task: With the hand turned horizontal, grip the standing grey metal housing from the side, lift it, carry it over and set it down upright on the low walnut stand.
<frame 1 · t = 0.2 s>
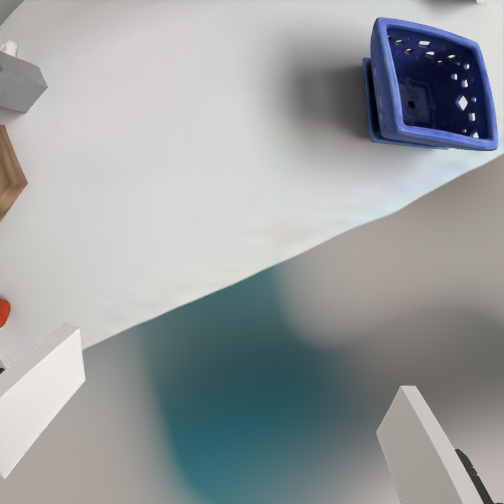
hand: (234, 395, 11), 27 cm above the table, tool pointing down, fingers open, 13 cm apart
fruit: (8, 306, 43), on the table
flower pot: (402, 107, 33), on the table
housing: (31, 89, 35), on the table
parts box: (6, 67, 35), on the table
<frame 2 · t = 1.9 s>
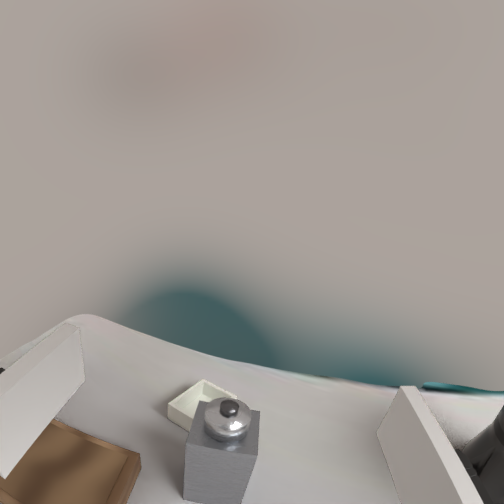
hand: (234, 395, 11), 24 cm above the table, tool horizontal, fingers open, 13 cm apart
stand: (64, 486, 20), on the table
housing: (214, 485, 27), on the table
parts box: (201, 415, 38), on the table
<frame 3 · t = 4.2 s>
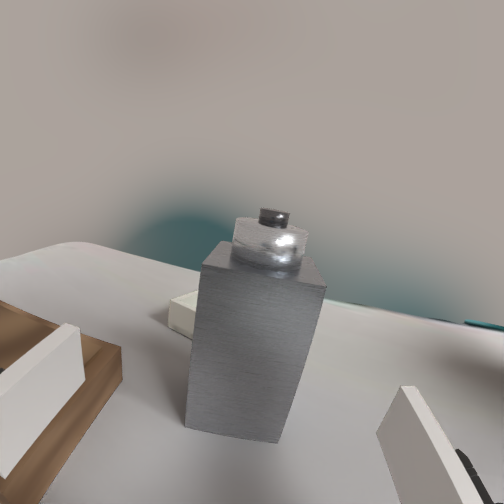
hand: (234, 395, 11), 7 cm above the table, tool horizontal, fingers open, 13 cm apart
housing: (235, 407, 20), on the table
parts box: (214, 326, 32), on the table
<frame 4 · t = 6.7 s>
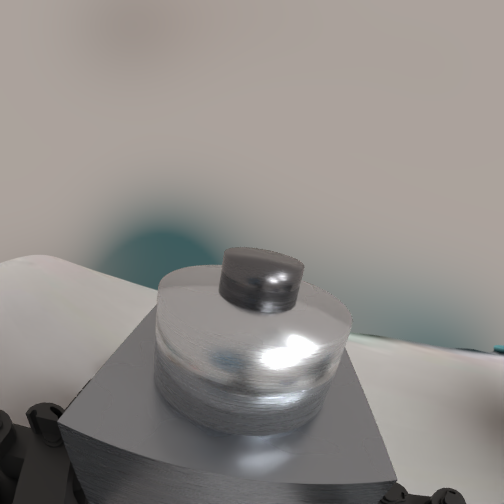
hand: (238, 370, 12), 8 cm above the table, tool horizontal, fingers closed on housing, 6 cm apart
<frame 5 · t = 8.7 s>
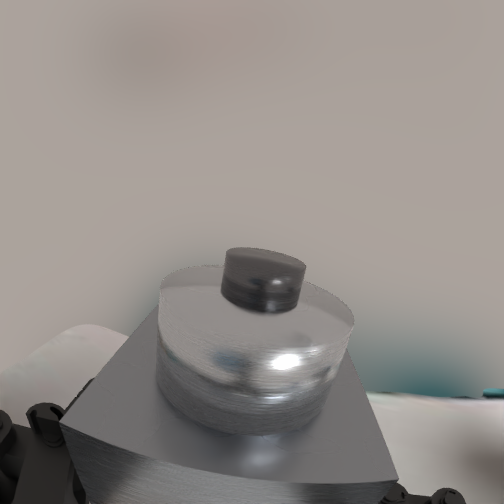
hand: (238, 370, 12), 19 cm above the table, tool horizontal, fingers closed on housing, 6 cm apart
when the fingers open (12 cm above the table, at t = 10.7 s): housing drops 1 cm, resting on stand.
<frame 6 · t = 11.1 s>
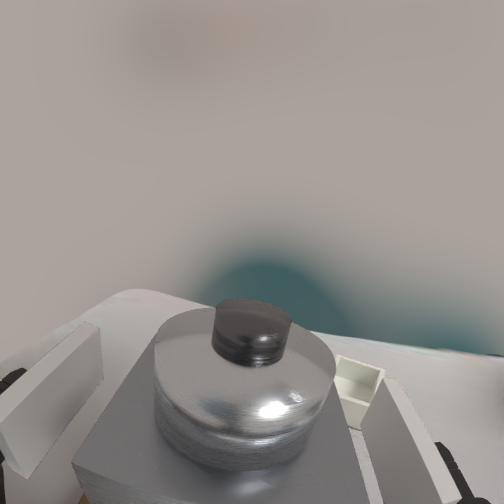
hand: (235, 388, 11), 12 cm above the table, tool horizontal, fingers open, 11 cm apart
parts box: (345, 401, 29), on the table
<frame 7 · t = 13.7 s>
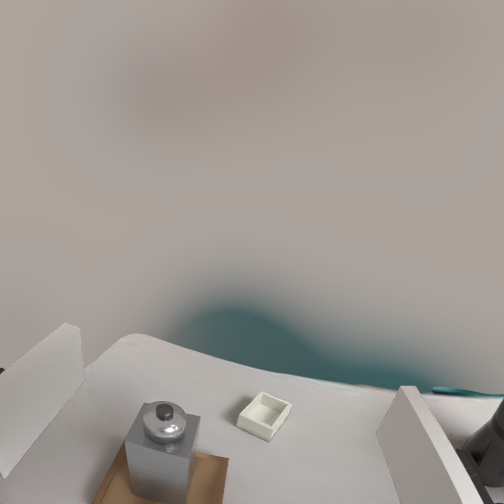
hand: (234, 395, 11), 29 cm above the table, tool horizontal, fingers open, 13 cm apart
stand: (164, 495, 28), on the table
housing: (164, 484, 27), point 3 cm above the table, touching stand
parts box: (263, 421, 46), on the table
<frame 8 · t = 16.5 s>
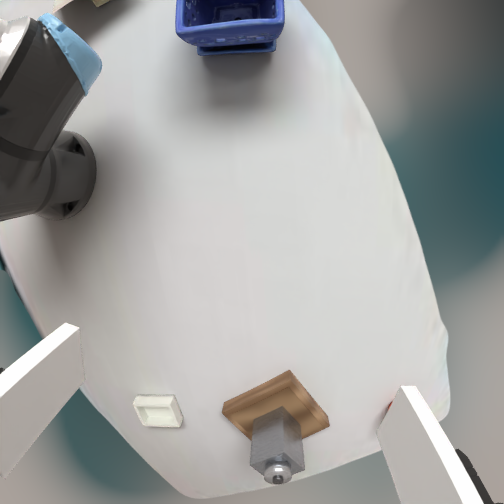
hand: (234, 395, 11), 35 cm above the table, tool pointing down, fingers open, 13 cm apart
stand: (276, 410, 51), on the table
flower pot: (238, 28, 38), on the table
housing: (277, 422, 48), point 3 cm above the table, touching stand
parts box: (160, 406, 53), on the table
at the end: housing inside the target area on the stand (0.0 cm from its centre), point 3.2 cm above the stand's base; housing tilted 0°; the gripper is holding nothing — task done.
